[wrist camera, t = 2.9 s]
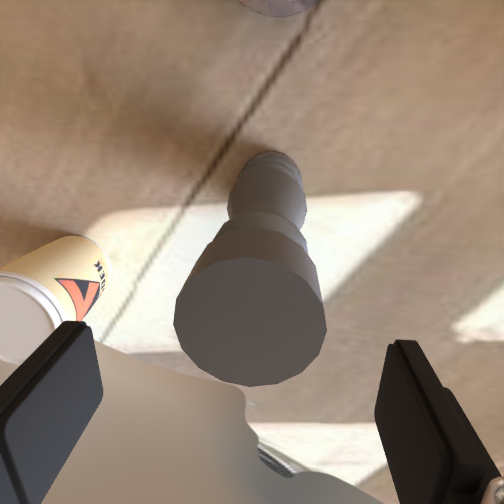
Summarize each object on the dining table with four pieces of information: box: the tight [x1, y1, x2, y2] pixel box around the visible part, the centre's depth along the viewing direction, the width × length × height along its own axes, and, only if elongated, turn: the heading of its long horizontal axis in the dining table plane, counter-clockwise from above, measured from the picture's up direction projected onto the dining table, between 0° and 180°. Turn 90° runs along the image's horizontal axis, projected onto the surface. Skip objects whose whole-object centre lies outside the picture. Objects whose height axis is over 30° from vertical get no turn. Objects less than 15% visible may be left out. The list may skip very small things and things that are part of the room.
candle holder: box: [173, 151, 327, 387], centre depth 24 cm, size 6×6×25 cm
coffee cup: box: [0, 236, 112, 365], centre depth 36 cm, size 9×9×12 cm
